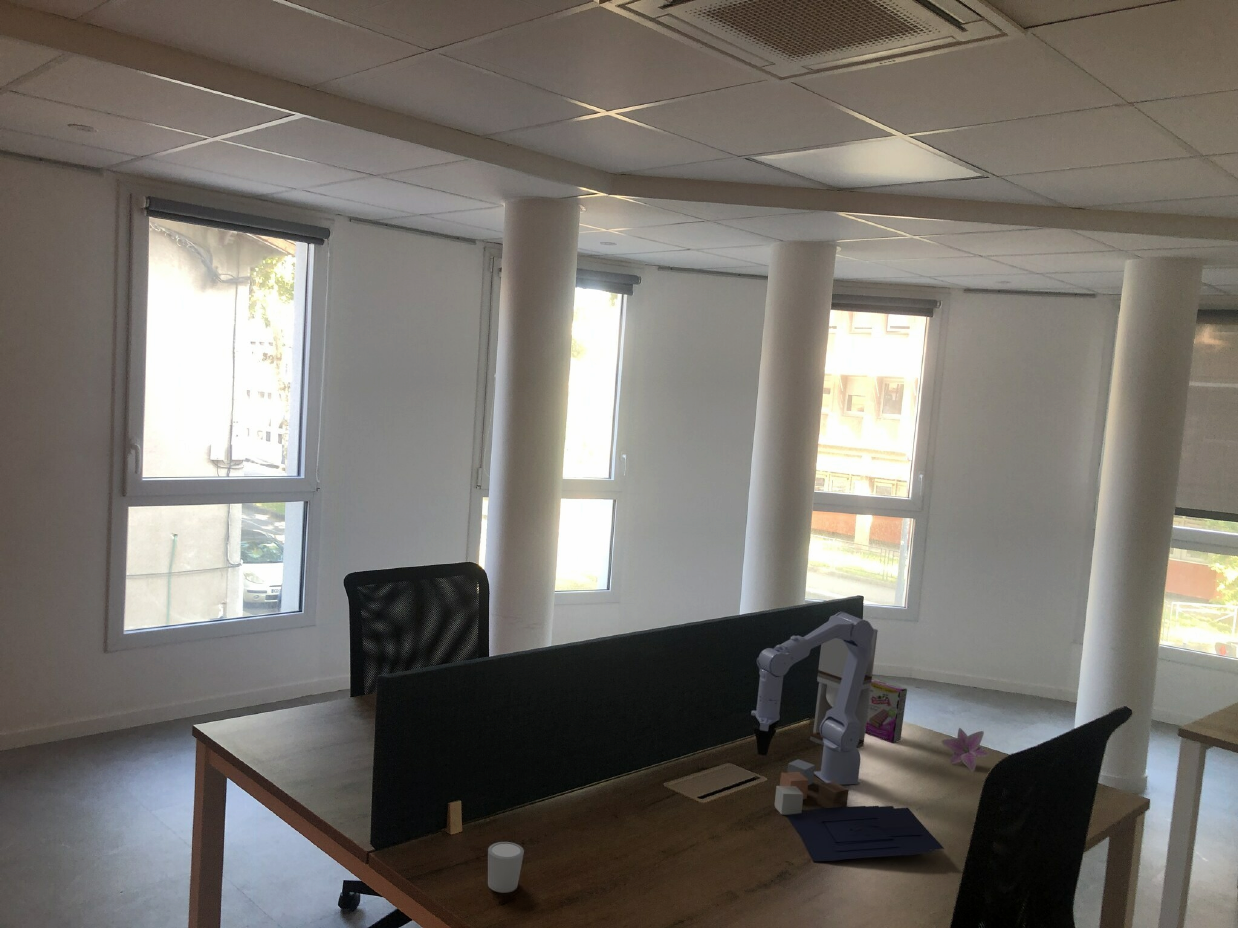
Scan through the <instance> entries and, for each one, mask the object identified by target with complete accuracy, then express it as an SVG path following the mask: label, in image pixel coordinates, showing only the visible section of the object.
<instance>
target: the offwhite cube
mask: <svg viewBox="0 0 1238 928" xmlns="http://www.w3.org/2000/svg"><path fill="white" fill-rule="evenodd" d="M803 800H804V799H803V793H802V792H801V791H800V790H799V789H798V788H797V787H796V786H780V785H776V787H775V797H774V807H775V809H776V810H777V811H778V812H779V814H780V815H784V816H786V815H788V814H798V813H802V810H803V802H804V801H803Z"/></svg>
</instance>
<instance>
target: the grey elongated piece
mask: <svg viewBox="0 0 1238 928" xmlns="http://www.w3.org/2000/svg"><path fill="white" fill-rule="evenodd" d="M825 623H826V622H825ZM825 623H823V624H825ZM873 629H874V634H873V638H872V650H871V654H870V658H869V662H868V666H867V670H866V674H865V677H864V681H863V685H862V689H861V693H860V696H859V700H858V704H857V708H856V712H855V715H856V717H857V719H858V721H859V723H860V729H859V735H860V739H859V743H858V745H857V746H856V748H857V749H860V748H863V747H864V745H865V737H866V733H865V730H866V722H867V714H868V706H869V697H870V689H871V681H872V679H873V673H874V672H873V671H874V663H875V655H876V649H877V648H876V646H877V639H878V632H879V631H878V630H879V629H878V628H873ZM819 653H820V654H819V660H818V661H819V662H818V669H817V677H816V679H817V680H816V682H818V689H817V697H816V706H815V715H814V721H813V724H814V725H813V730H812V732H811V733H810V737H809V740H810V741H812V742H814V743H817V744H819V745H821V746H824V742H823V737H822V736H821V735H820V731H819V729H820V725H821V722H822V721H823V720H824V718H825V716H826V712H827V711H828V710H830V709H832V708H834V707H835V703H836V699H837V695H838V691H839V688H840V684H841V680H842V676H843V672H844V669H845V665H846V661H847V657H848V653H849V649H848V647H847V646H846V644H845V643H844V641H843V640H842V639H838V638H834V639H832V640H829V641H827V642H825V643H823V644H821V646H820V652H819Z"/></svg>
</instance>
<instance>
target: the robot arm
mask: <svg viewBox="0 0 1238 928" xmlns="http://www.w3.org/2000/svg"><path fill="white" fill-rule="evenodd" d="M874 629H875V628H874V627H873V625H872V624H871V623H870V622H869V620H866V619H862V618H860V617H857V616H854V615H852V614H849V613H848V612H845V611H839V612H837V613H835V614H834V615H831V616H829V619H828V621H827V622H825V624H824V623H823V624H822V625H820V626H819V627H817V628H815V629H814V630H813V631H811V632H809V633H808V634H806V635H804V636H801V635H792V636H790V638H789V639H788V640H786V641H784V642H783V643H781V644H777V645H775V646H774V648H771V647H767V648H765V649H763V650H762V651H760V653H759V655H758V657H757V658H756V664H757V667H758V669H759V672H758V674H759V681H758V682H759V684H758V692H757V702H756V710H751V716H754V717H756V720H757V721H758V723H759V724H758V725H757V724H753V726H752V730H753V733H754V735H755V741H756V751H757V755H759V756H760V755H761V756H764V757H766V756H767V754H768V752H769V748H770V745H771V741H772V739H773V737H774V736H775V734H776V733H777V729H776V726H777V725H778V723H779V722H780V710H781V700H782V690H783V683H784V682H783V681H784V676H786V674H788V672H789V670H790V668H791V667H792V666H793V665H794V664H796V663H798V662H800V661H802V660H804V659H805V658H807V657H808V656H810V653H811V649H814V648H816V647H820V645H821V644H823V643H825V642H827V641H829V640H832V639H834V638H838V639H842V640H843V641H844V643H845V644H846V646H847V647H848V649H849V653H848V657H847V661H846V665H845V669H844V672H843V676H842V680H841V684H840V688H839V691H838V695H837V699H836V703H835V707H834V708H832V709H830V710H828V711H827V712H826V716H825V718H824V720H823V721H822V722H821V725H820V729H819V731H820V735H821V736H822V737H823V742H824V745H823V750H822V757H821V764H820V765H821V766H820V770H819V771H815V770H814V775H815V776H816V777H818V778H819V779H820V780H822V781H823V782H824V783H829V782H833V781H834V782H836V783H837V784H839V785H841V786H843V785H844V786H845V785H859V784H860V781H859V777H860V767H861V754H860V750H859V748H856V746H857V745H858V743H859V739H860V735H859V729H860V723H859V721H858V719H857V717H856V715H855V712H856V708H857V704H858V700H859V696H860V693H861V689H862V685H863V681H864V677H865V674H866V670H867V666H868V662H869V658H870V654H871V650H872V638H873V634H874Z"/></svg>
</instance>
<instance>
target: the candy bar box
mask: <svg viewBox="0 0 1238 928" xmlns="http://www.w3.org/2000/svg"><path fill="white" fill-rule="evenodd" d="M907 694H908V688H906V687H903V686H900V685H897V684H893V683H890V682H887V681H884V680H881V679H878V678H872V681H871V689H870V697H869V706H868V714H867V722H866V730H865V735H866V734H867V735H869V736H872V737H875V738H877V739H880V740H883V741H886V742H889V743H891V744H895V743H898V742H900V741H901V738H902V732H903V723H904V716H905V708H906V701H907Z"/></svg>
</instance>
